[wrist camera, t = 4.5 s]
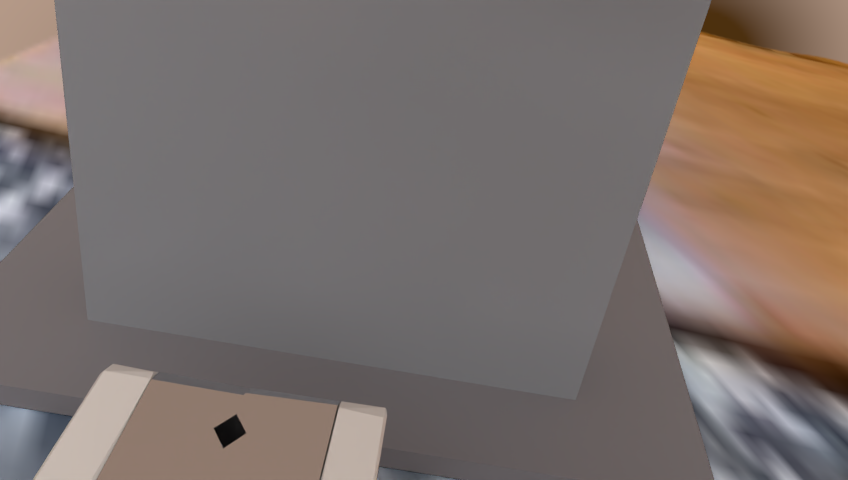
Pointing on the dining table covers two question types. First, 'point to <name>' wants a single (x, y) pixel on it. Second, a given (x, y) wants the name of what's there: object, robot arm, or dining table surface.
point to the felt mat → (378, 378)
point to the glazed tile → (370, 172)
